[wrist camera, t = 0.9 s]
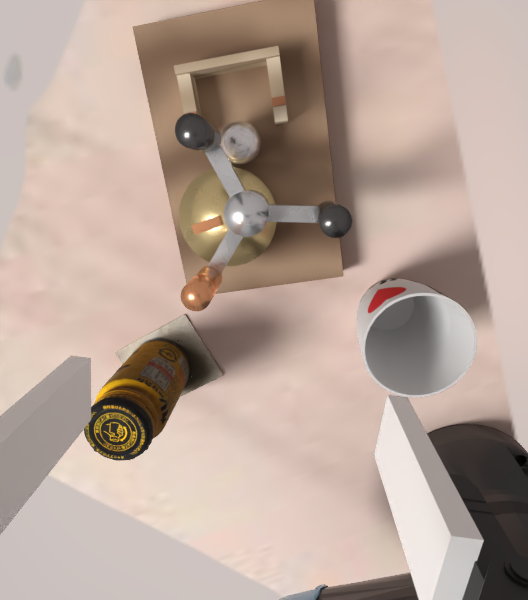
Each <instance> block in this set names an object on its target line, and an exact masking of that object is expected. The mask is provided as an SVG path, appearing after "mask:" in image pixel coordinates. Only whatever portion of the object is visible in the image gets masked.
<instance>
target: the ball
mask: <svg viewBox="0 0 528 600" xmlns="http://www.w3.org/2000/svg"><path fill="white" fill-rule="evenodd" d="M221 145H222V147H223V149H224V151H225V153H226V155H227V156H228V158H229V160H230V161H231V162H232V163H235V164H246V163H249V162H250V161H252V160H253V159H254V158H255V157H256V156H257V154H258V153H259V150H260V146H261V140H260V136H259V133H258V131H257V130H256V128H255V127H254V126H253V125H251V124H250V123H248V122H245V121H234V122H231V123H230V124H228V125H227V126H226V127H225V128H224V129H223V131H222V133H221Z"/></svg>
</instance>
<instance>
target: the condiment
mask: <svg viewBox="0 0 528 600" xmlns="http://www.w3.org/2000/svg"><path fill="white" fill-rule="evenodd" d="M175 340H177V342H176V341H175ZM179 340H180V341H182V342H179ZM115 354H116V355H117V356H118V358H119V359H120V360H121V362H122V363H123V365H122V366H121V367H120V368H119V369H118V370H117V372H116V373H115V374H114V375H113V376H112V377H111V378H110V379H109V380H108V382H107V383H106V384H105V385H104V386H103V388H102V389H101V390H100V392H99V393H98V395H97V398H96V401H95V403H94V405H93V406H92V407H91V420H90V422H89V423H88V424H87V426H86V427H85V428H84V433H85V437H86V439H87V441H88V442H89V443H90V445H91V446H92V448H93V449H94V451H96V452H98V453H99V454H101V455H102V456H104V457H107V458H110V459H113V460H130V459H134V458H135V457H137V456H139V455H140V454H142V453H143V452H144V451H145V450H147V449H148V447H149V445H150V444H151V442H152V439H153V438H155V437H156V436H157V435H159V434H160V432H161V431H162V430H163V428H164V426H165V425H166V423H167V421H168V419H169V417H170V415H171V413H172V411H173V409H174V407H175V405H176V403H177V401H178V399H179V397H180V396H182V395H184V394H186V393H188V392H190V391H193V390H195V389H197V388H198V387H200V386H203V385H204V384H206V383H208V382H211V381H213V380H215V379H217V378H219V377H221V376H223V374H222V372H221V371H220V369H219V367H218V365H217V364H216V362H215V361H214V359H213V357H212V356H211V354H210V352H209V351H208V349H207V348H206V346H205V345H204V343H203V341H202V340H201V338H200V337H199V335H198V334H197V332H196V331H195V329H194V327H193V326H192V324H191V323H190V321H189V320H188V318H187V317H186V315H183V316H181V317H179V318H177V319H176V320H174V321H172V322H170V323H168V324H166V325H165V326H163V327H161V328H159V329H157V330H155V331H154V332H152V333H150V334H148V335H146V336H144V337H142V338H140V339H139V340H137V341H135V342H133V343H131V344H129V345H128V346H126V347H124V348H122V349H120V350H119V351H117V352H115ZM191 376H192V377H191Z"/></svg>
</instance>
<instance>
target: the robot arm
mask: <svg viewBox="0 0 528 600" xmlns="http://www.w3.org/2000/svg"><path fill="white" fill-rule="evenodd" d="M90 420H91V358H85V357H77V356H70V357H69V358H68V359H67V360H66V361H64V362H63V363H62V364H61V365H60V366H59V367H57V368H56V369H55V370H54V371H53V372H52V373H50V374H49V375H48V376H47V377H46V378H44V379H43V380H42V381H41V382H40V383H39V384H37V385H36V386H35V387H34V388H33V389H32V390H30V391H29V392H28V393H27V394H26V395H25V396H23V397H22V398H21V399H20V400H19V401H18V402H16V403H15V404H14V405H13V406H12V407H11V408H9V409H8V410H7V411H6V412H5V413H3V414H2V415H1V416H0V534H1V533H2V532H3V531H4V529H5V528H6V527H7V526H8V524H9V523H10V522H11V521H12V519H13V518H14V517H15V516H16V514H17V513H18V512H19V510H20V509H21V508H22V507H23V505H24V504H25V503H26V502H27V500H28V499H29V498H30V497H31V495H32V494H33V493H34V491H35V490H36V489H37V488H38V486H39V485H40V484H41V483H42V481H43V480H44V479H45V477H46V476H47V475H48V474H49V472H50V471H51V470H52V469H53V467H54V466H55V465H56V464H57V462H58V461H59V460H60V458H61V457H62V456H63V455H64V453H65V452H66V451H67V450H68V448H69V447H70V446H71V445H72V443H73V442H74V441H75V439H76V438H77V437H78V436H79V434H80V433H81V432H82V431H83V429H84V428H85V427H86V426H87V424H88V423H89V422H90ZM374 456H375V459H376V463H377V466H378V469H379V472H380V476H381V479H382V482H383V485H384V489H385V492H386V495H387V498H388V501H389V505H390V508H391V511H392V514H393V518H394V521H395V524H396V527H397V531H398V534H399V537H400V540H401V544H402V547H403V550H404V553H405V557H406V560H407V563H408V566H409V570H410V573H406V574H400V575H395V576H389V577H384V578H378V579H373V580H368V581H362V582H357V583H351V584H345V585H339V586H333V587H328V586H326V585H320V586H318V587H317V588H316V589H314V590H310V591H306V592H302V593H297V594H293V595H289V596H286V597H283V598H281V599H280V600H528V453H527V451H526V450H525V449H524V448H523V447H522V446H521V445H520V444H519V443H518V442H517V441H516V440H514V439H513V438H512V437H510V436H509V435H507V434H505V433H503V432H501V431H498V430H496V429H493V428H489V427H485V426H479V425H457V426H450V427H446V428H442V429H439V430H436V431H433V432H431V433H429V434H427V433H426V431H425V429H424V427H423V426H422V424H421V422H420V420H419V418H418V416H417V414H416V412H415V411H414V409H413V407H412V405H411V403H410V401H409V399H408V398H407V397H400V396H392V395H387V400H386V404H385V409H384V413H383V418H382V422H381V427H380V432H379V436H378V441H377V445H376V450H375V454H374Z"/></svg>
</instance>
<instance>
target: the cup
mask: <svg viewBox="0 0 528 600" xmlns="http://www.w3.org/2000/svg"><path fill="white" fill-rule="evenodd" d="M357 338H358V342H359V346H360V349H361V353H362V357H363V361H364V364H365V367H366V369H367V371H368V373H369V374H370V376H371V377H372V379H373V380H374V381H375V382H376V383H377V384H378V385H380V386H381V387H382V388H384V389H385V390H387V391H389V392H391V393H393V394H396V395H400V396H404V397H426V396H431V395H434V394H437V393H440V392H442V391H444V390H446V389H448V388H450V387H451V386H453V385H454V384H455V383H457V382H458V381H459V380H460V379H461V378H462V377H463V376H464V375H465V373H466V372H467V371H468V369H469V368H470V366H471V364H472V362H473V360H474V357H475V354H476V349H477V333H476V328H475V325H474V323H473V321H472V319H471V317H470V315H469V314H468V313H467V311H466V310H465V309H464V308H463V307H462V306H461V305H459V304H458V303H457V302H455V301H453V300H452V299H450V298H448V297H447V296H445V295H443V294H441V293H440V292H438V291H436V290H434V289H433V288H431V287H429V286H427V285H424V284H421V283H417V282H413V281H410V280H406V279H398V278H397V279H388V280H384V281H381V282H378V283H376V284H374V285H373V286H371V287H370V288H369V289H368V290H367V291H366V293H365V294H364V296H363V297H362V299H361V301H360V303H359V306H358V310H357Z"/></svg>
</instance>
